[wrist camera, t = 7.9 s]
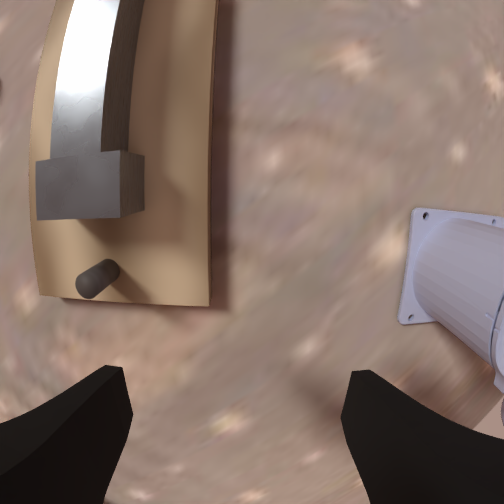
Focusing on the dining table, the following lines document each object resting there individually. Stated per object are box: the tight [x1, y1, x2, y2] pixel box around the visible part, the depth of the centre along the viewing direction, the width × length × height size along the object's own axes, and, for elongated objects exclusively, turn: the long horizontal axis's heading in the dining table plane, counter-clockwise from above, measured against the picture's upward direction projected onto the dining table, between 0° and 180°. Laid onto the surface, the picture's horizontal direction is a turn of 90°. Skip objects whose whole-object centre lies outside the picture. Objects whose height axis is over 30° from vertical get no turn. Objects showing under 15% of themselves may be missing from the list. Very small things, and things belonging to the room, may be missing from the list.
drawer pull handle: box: [35, 0, 145, 221], centre depth 12 cm, size 5×21×4 cm, turn 179°
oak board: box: [29, 0, 219, 306], centre depth 13 cm, size 12×32×4 cm, turn 179°
